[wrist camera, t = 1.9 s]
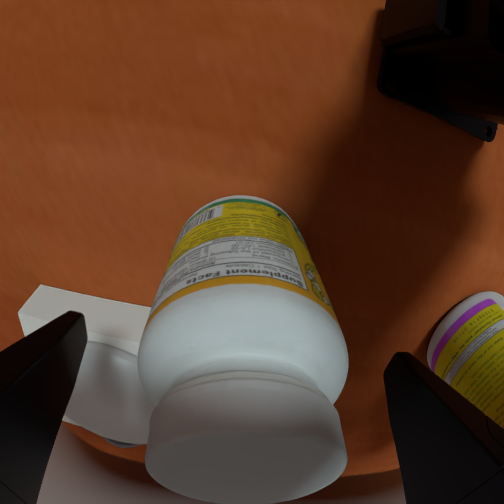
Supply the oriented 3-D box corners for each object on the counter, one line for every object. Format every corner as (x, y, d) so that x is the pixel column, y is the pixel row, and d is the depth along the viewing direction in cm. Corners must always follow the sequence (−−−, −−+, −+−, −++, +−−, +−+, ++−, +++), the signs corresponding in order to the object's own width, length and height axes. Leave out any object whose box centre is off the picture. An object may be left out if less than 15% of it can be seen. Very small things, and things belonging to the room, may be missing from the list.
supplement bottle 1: (182, 184, 12) (75, 378, 4) (316, 202, 13) (436, 396, 4) (175, 299, 14) (131, 501, 6) (289, 311, 15) (330, 508, 6)
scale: (208, 310, 15) (201, 363, 12) (194, 418, 20) (190, 461, 16) (45, 279, 14) (11, 319, 11) (72, 392, 18) (56, 430, 15)
